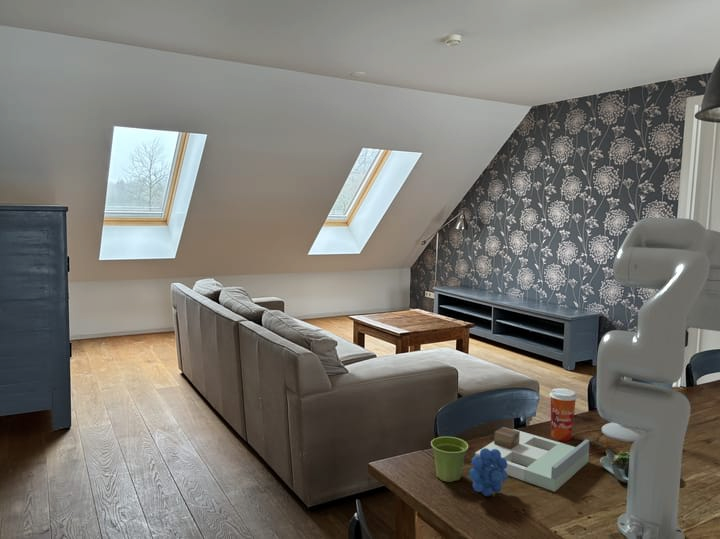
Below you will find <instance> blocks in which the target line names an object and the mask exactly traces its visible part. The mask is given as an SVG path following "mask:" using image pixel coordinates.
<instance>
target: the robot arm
mask: <svg viewBox="0 0 720 539" xmlns="http://www.w3.org/2000/svg"><path fill="white" fill-rule="evenodd" d="M612 266H613V267H612V272H613V277H614V279H615V281H616V282H617V283H618V284H620V285H621V286H623V287H628V288H638V289H649V290H658V291H656V292H655V293H654V294H652V295H651V296H650V297H649V298H648V299H647V300H646V301H645V302H644V303H643V304H642V306H641V307H640V308H639V310H638V313H637V314H638V315H637V331H636V332H635V331H628V330H619V329H616V330H615V329H613V330H610V331H608V332H605V334H603V336H602V337H601V340H600V342H599V344H598V350H597V355H596V356H597V357H596V358H597V359H596V409H597V414H599V416H600V417H601V418H602V419H603V420H605V421H607V422H609V423H612V422H613V423H617V424H621V425H625V426H629V427H633V428H636V429H640V430H642V431H644V432H645V434H644V435H642V436H641V437H639V438H638V439H637V440H636V441H635V442H632V444H631V446H630V449H629V452H630V456H629V473H628V484H627V494H626V508H625V509H626V510H625V512H624V513H622V514H621V515H619V516H618V518H617V524H616V525H617V528H618V530H619V532H620V533H621V534H622V535H623V536H625V537H626V539H685V533H684V531H683V530H682V529H681V527H680V526H678V512H679V500H680V486H681V485H680V484H681V473H682V472H681V471H682V470H681V469H682V458H683V450H684V442H685V436H686V432H687V428H688V425H689V422H690V421H689V420H690V416H691V409H692V408H691V404H690V400H689V399H688V398H687V396H685V395H684V394H683V393H681V392H679V391H677V390H676V389H673V388H670V387H665V386H661V385H656V384H652V383H658V384H666V385H667V384H668V385H670V384H674V383H677V382H678V381H679V380H680V379H681V378H682V375H683V371H684V366H685V356H686V355H685V352H686V350H685V349H686V348H687V346H688V345H689V331H688V330H689V329H690V328H693V329H699V330H705V331H706V330H708V331H715V332H720V231H717V230H714V229H713V230H712V229H708V228H706V227H704V226H703V225H702V224H701V223H700V222H699V221H697V220H694V219H691V218H680V217H679V218H677V217H674V218H673V217H644V218H642V219H640V220H638V221H637V222H636V223H635V224H634V225H633V226H632V227H631V229H630V230H629V232H628V233H627V235H626V236H625V238H624V240H623V242H622V244H621V246H620V247H619V249H618V251H617V253H616V255H615V258H614V260H613V265H612ZM624 377H629V378H632V379H635V380H640V381H645V382H651V383H645V382H639V381H634V380H632V381H630V380H624Z"/></svg>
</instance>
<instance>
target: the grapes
mask: <svg viewBox="0 0 720 539" xmlns="http://www.w3.org/2000/svg"><path fill="white" fill-rule="evenodd" d="M483 448H484V447H483ZM481 449H482V448H481ZM471 465H472V467H473V468H471V469H470V470H469V471H468V477H469V478H470V480H471V481H472V488H473V490H474V491H476V493H482V495H483V496H484V497H490V496H492V495H493V492H494V493H499V492H501V491H502V489H503V482H506V481H507V480H508V478H509V477H508V476H509V475H507V472H506V471H505V470H504V469H506V467H507V461H506V459H505V458H503V457H501V453H500V451H499V450H497V449H492V450H491V451H490V450H489V449H487V448H484V449H482V450H481V451H480V456H475V455H474V456H473V457H472V458H471Z"/></svg>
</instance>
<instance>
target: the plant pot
mask: <svg viewBox="0 0 720 539" xmlns="http://www.w3.org/2000/svg"><path fill="white" fill-rule="evenodd" d="M430 446H431V448H432V452H433V454H434V456H433V457H434V464H435V475H436V477H437V478H438V479H439V480H440V481H443V482H448V483H453V482H455V481H459V480H461V478H462V472H463V471H462V470H463V466H464V460H465V455H466V453H467V451H468V450H469V444H468V442H467V441H465V440H464V439H461V438H458V437H454V436H439V437H436V438H433V439H432V440H431V441H430Z"/></svg>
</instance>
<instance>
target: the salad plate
mask: <svg viewBox="0 0 720 539" xmlns="http://www.w3.org/2000/svg"><path fill="white" fill-rule="evenodd" d="M605 453H606V455H605V456H602V457H600V459H599V464H600V466H602V467H603V468H604V469H605V470H606V471H607V472H609V473H610V474H611V475H612V476H614V478H616V479H617V480H618V481H620V482H622V484H625V485H628V473H629V456H630V451H629V452H628V451H626V452H623V451H622V450H619V454H614V451H613V449H611V448H610V449H609V448H607V449H605Z"/></svg>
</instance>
